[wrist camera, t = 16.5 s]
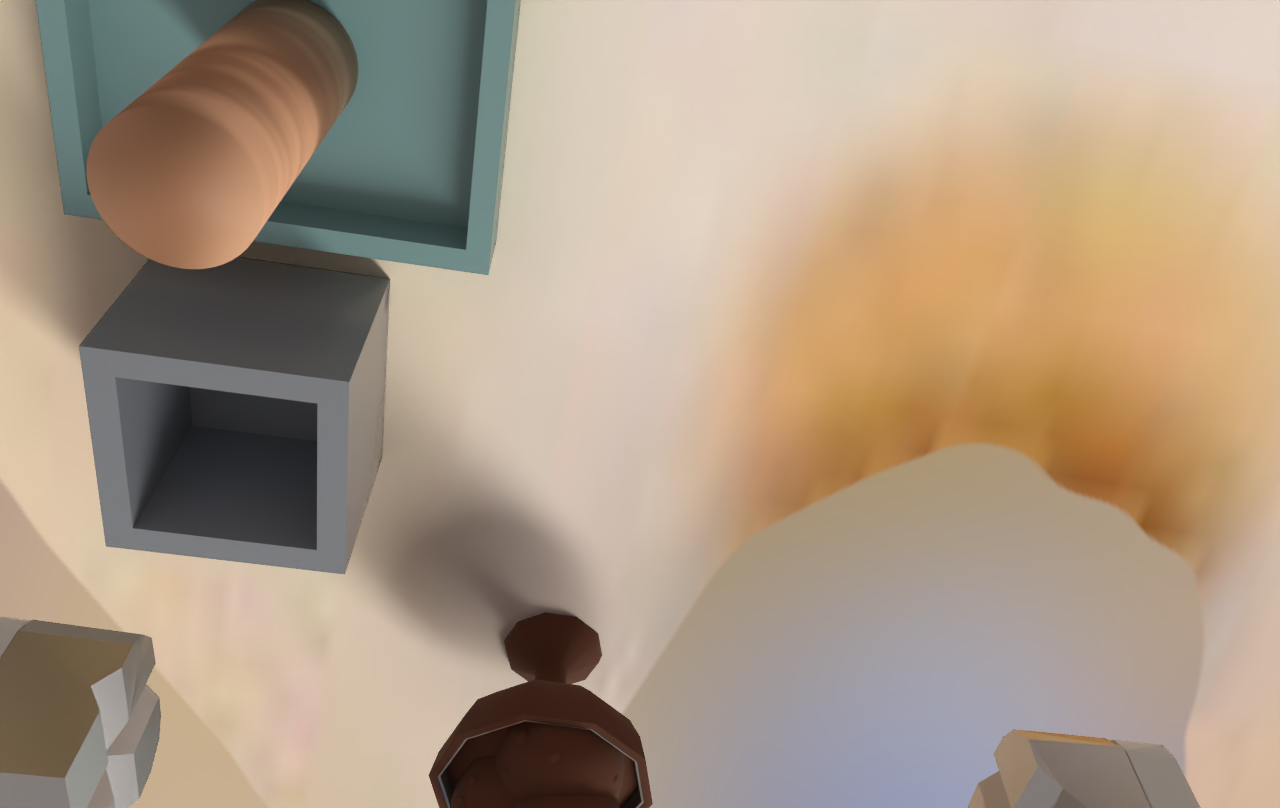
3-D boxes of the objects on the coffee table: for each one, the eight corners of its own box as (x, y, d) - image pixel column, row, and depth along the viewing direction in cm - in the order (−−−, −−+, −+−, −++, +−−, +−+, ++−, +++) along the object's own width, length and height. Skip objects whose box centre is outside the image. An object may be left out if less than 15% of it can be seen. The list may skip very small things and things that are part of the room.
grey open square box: (389, 278, 49) (349, 382, 42) (381, 456, 55) (344, 574, 48) (159, 246, 49) (78, 345, 41) (175, 430, 54) (106, 546, 47)
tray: (530, -99, 41) (524, -83, 38) (495, 243, 49) (488, 274, 46) (52, -183, 39) (12, -173, 37) (94, 184, 47) (64, 214, 44)
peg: (359, 5, 42) (260, 122, 31) (357, 132, 45) (265, 280, 34) (224, -16, 41) (76, 94, 31) (230, 113, 44) (96, 256, 33)
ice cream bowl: (550, 544, 58) (528, 785, 46) (689, 654, 63) (703, 900, 50) (416, 641, 62) (361, 887, 50) (555, 738, 67) (538, 985, 54)
